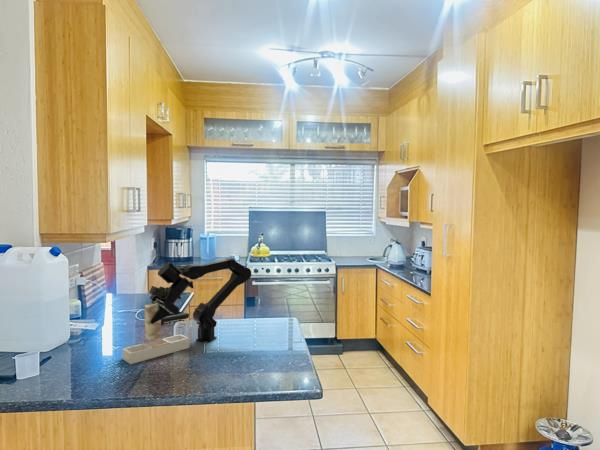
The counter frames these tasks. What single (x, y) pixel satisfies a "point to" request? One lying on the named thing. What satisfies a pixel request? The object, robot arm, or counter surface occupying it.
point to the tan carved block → (151, 329)
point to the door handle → (175, 317)
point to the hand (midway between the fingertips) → (149, 321)
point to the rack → (155, 348)
